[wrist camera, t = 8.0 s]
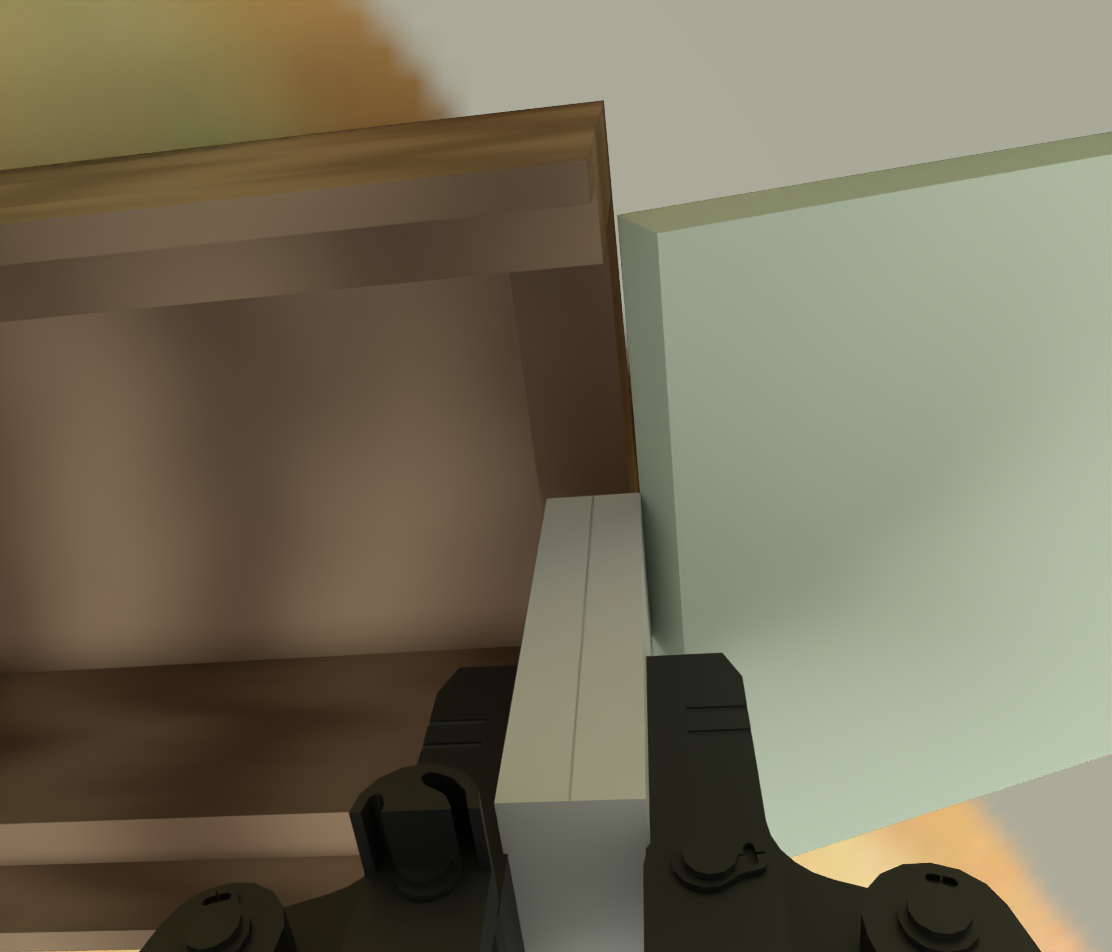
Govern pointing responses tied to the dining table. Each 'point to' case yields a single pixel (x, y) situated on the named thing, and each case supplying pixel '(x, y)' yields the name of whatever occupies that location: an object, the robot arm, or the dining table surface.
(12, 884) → the box
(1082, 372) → the lid
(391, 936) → the robot arm
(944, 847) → the dining table surface
